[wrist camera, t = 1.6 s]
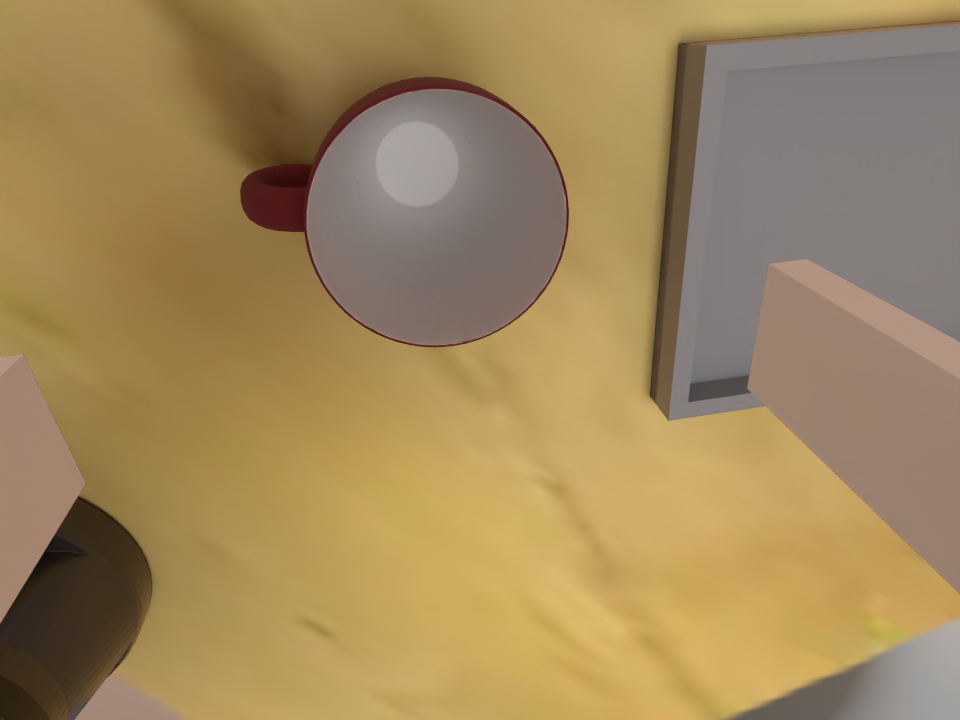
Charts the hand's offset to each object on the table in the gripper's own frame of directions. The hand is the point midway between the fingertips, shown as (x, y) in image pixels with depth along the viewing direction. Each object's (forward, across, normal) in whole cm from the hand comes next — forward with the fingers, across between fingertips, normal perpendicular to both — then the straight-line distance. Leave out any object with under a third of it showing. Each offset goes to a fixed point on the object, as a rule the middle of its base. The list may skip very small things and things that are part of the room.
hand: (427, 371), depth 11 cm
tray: (+18, +24, -5) cm, 31 cm away
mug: (+18, 0, 0) cm, 19 cm away
